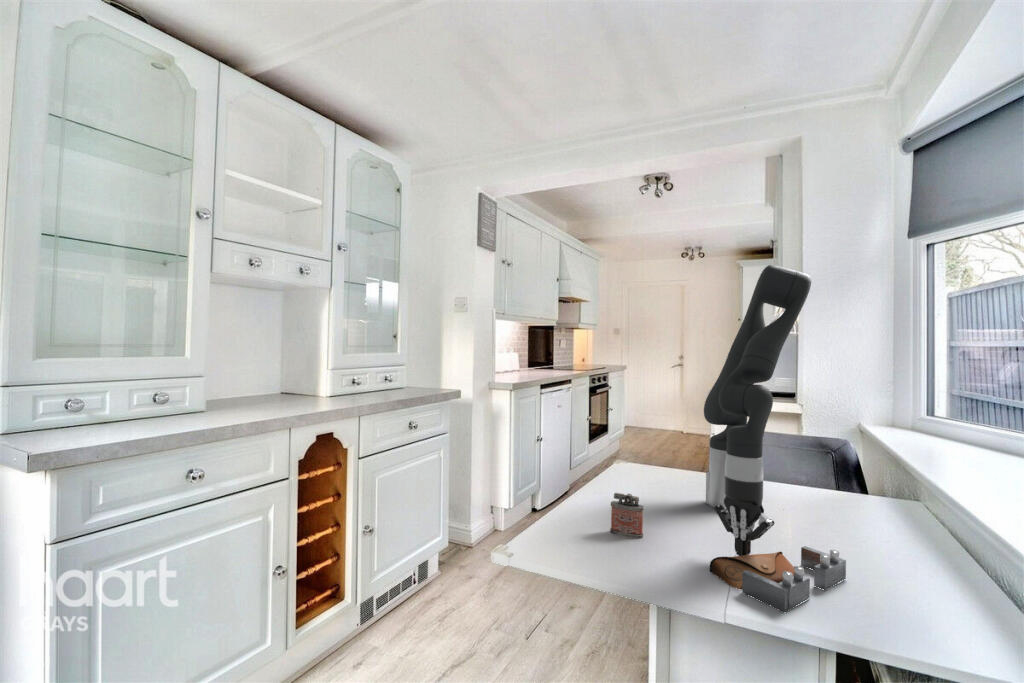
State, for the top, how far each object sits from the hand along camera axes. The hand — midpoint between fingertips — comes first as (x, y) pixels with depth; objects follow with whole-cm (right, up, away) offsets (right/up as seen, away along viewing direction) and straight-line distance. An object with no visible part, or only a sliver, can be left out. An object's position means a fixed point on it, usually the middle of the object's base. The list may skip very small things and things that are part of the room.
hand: (742, 555), depth 104 cm
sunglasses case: (+1, -3, -5) cm, 6 cm away
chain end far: (+12, -2, -5) cm, 14 cm away
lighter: (-22, -2, +15) cm, 26 cm away
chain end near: (0, -2, -13) cm, 13 cm away
